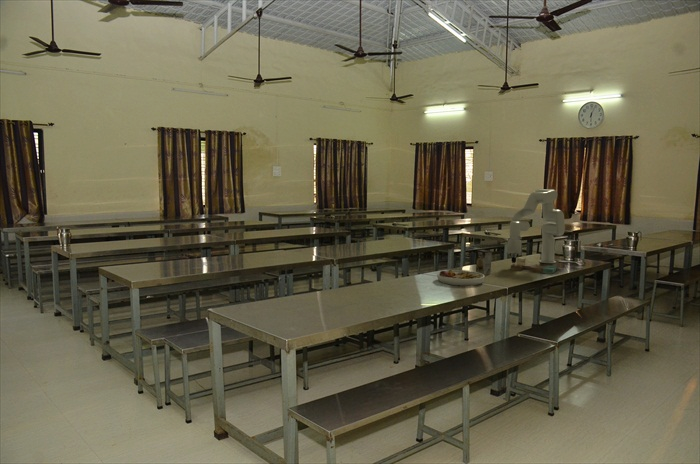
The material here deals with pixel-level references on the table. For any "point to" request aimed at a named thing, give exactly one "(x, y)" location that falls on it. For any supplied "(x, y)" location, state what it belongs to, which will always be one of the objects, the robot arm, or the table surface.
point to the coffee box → (483, 261)
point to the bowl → (460, 277)
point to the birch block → (521, 261)
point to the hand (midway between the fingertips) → (513, 262)
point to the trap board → (534, 268)
